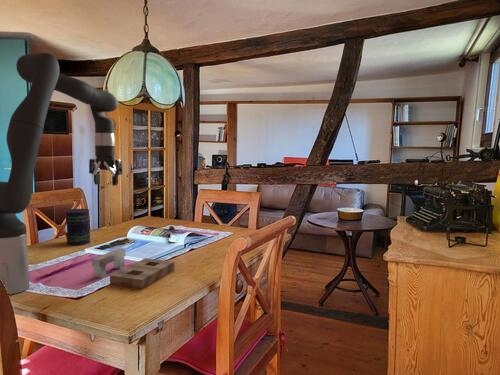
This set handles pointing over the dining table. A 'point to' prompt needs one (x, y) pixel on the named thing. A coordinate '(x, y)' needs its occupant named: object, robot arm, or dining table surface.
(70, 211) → the storage jar
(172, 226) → the hand tool
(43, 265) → the dining table surface
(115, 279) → the brown block with holes
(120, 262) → the grey arch block
